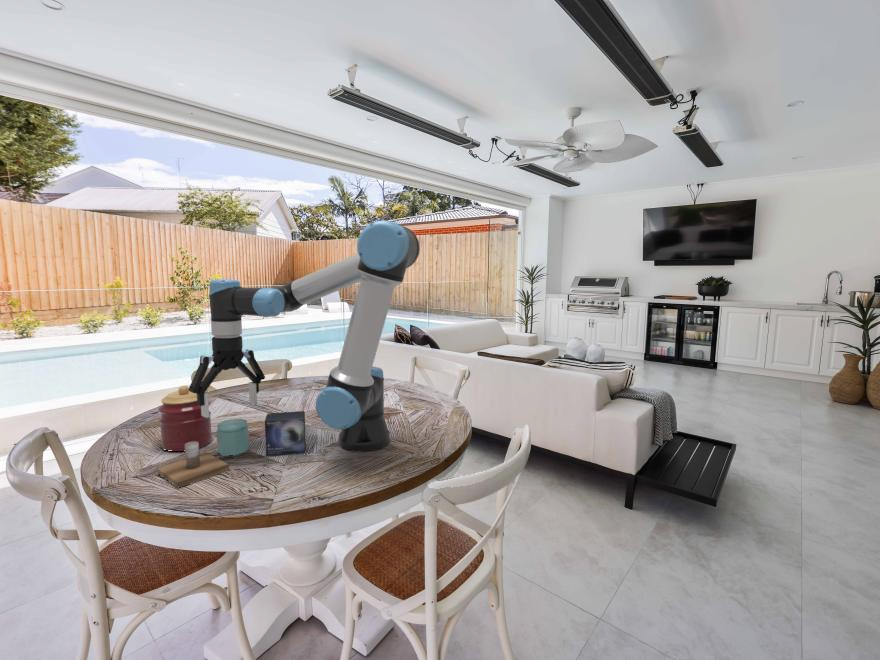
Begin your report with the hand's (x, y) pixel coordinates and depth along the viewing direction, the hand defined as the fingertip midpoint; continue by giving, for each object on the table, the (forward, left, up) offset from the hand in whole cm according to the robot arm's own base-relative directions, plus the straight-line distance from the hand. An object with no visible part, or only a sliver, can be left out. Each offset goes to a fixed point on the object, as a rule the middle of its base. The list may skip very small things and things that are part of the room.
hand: (230, 410), depth 119 cm
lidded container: (0, 0, -12) cm, 12 cm away
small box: (-12, -9, -12) cm, 19 cm away
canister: (+15, +6, -12) cm, 20 cm away
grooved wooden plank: (-5, +13, -12) cm, 18 cm away
